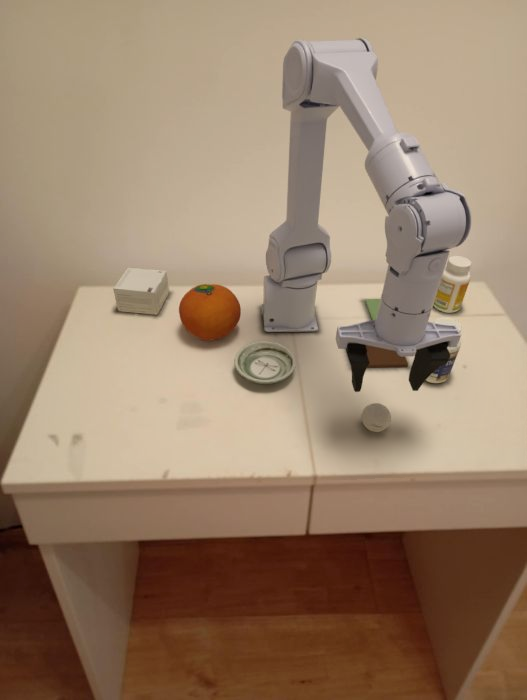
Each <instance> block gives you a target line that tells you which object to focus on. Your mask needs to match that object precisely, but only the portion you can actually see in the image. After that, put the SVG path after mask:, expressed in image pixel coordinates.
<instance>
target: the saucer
mask: <svg viewBox="0 0 527 700" xmlns="http://www.w3.org/2000/svg"><path fill="white" fill-rule="evenodd" d="M296 364H297V361H296V358H295V355H294V354H293V352H292V351H291V349H289V348H288V347H286V346H284V345H283V344H280V343H277V342H274V341H268V340H267V341H266V340H260V341H254V342H251V343H248V344H246V345H244V346H243V347H241V348H240V349H239V350H238V351H237V352H236V354H235V356H234V367H235V370H236V371H237V373H238V374H239V375H240V376H241V377H242V378H243V379H245V380H247V381H249V382H252V383H255V384H261V385H271V384H276V383H280V382H282V381H284V380H286V379H287V378H289V377H290V376H291V375H292V374H293V373H294V371H295V368H296Z"/></svg>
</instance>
